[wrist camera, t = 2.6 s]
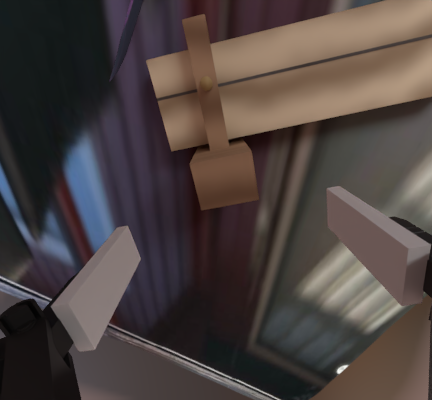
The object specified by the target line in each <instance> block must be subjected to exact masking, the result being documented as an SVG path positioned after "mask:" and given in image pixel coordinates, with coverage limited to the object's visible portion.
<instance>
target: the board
mask: <svg viewBox="0 0 432 400" xmlns="http://www.w3.org/2000/svg"><path fill="white" fill-rule="evenodd" d="M210 45H211V51H212V56H213V61H214V67H215V72H216V77H217V83H218V88H219V94H220V99H221V104H222V110H223V115H224V121H225V126H226V131H227V137H228V139H233V138H238V137H243V136H247V135H252V134H257V133H261V132H266V131H271V130H276V129H280V128H285V127H290V126H295V125H299V124H304V123H309V122H314V121H318V120H323V119H328V118H333V117H337V116H342V115H347V114H351V113H356V112H361V111H366V110H370V109H375V108H380V107H385V106H389V105H394V104H399V103H404V102H408V101H413V100H418V99H422V98H427V97H432V0H385V1H381V2H377V3H373V4H369V5H365V6H361V7H357V8H353V9H349V10H345V11H341V12H337V13H333V14H329V15H325V16H321V17H317V18H313V19H309V20H305V21H301V22H297V23H293V24H289V25H285V26H281V27H277V28H273V29H269V30H265V31H261V32H257V33H253V34H249V35H245V36H241V37H237V38H233V39H229V40H225V41H221V42H217V43H213V44H210ZM146 62H147V66H148V69H149V73H150V76H151V80H152V83H153V87H154V91H155V94H156V98H157V101H158V105H159V108H160V112H161V116H162V119H163V123H164V126H165V130H166V134H167V137H168V141H169V144H170V148H171V151H176V150H181V149H186V148H190V147H195V146H200V145H205V144H209V142H208V138H207V133H206V128H205V124H204V119H203V115H202V110H201V105H200V101H199V96H198V92H197V87H196V83H195V78H194V73H193V69H192V64H191V60H190V55H189V50H185V51H181V52H177V53H173V54H169V55H165V56H161V57H157V58H153V59H149V60H146Z"/></svg>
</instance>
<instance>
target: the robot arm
mask: <svg viewBox="0 0 432 400" xmlns="http://www.w3.org/2000/svg"><path fill="white" fill-rule="evenodd" d="M327 216H328V227H329V228H330V229H331V230H332V232H333V233H334V234H335V235H336V236H337V237H338V238H339V239H340V240H341V241H342V242H343V243H344V244H345V246H346V247H347V248H348V249H349V250H350V251H351V252H352V253H353V254H354V255H355V256H356V257H357V258H358V260H359V261H360V262H361V263H362V264H363V265H364V266H365V267H366V268H367V269H368V270H369V271H370V272H371V273H372V275H373V276H374V277H375V278H376V279H377V280H378V281H379V282H380V283H381V284H382V285H383V286H384V287H385V289H386V290H387V291H388V292H389V293H390V294H391V295H392V296H393V297H394V298H395V299H396V300H397V301H398V303H399V304H400V305H401V306H404V305H411V304H418V303H422V299H423V292H426V293H427V294H428V295H429V296H430V297H431V298H432V235H430V234H428V233H427V232H424V231H423V230H422V229H420V228H418V227H416V226H415V225H413V224H412V223H410V222H408V221H407V220H404V219H400V218H397V217H387V216H385V215H384V214H382V213H381V212H379V211H377V210H376V209H374V208H373V207H371V206H370V205H368V204H367V203H365V202H363V201H362V200H360V199H359V198H357V197H356V196H354V195H353V194H351V193H349V192H348V191H346V190H345V189H343V188H342V187H340V186H336V187H331V188H327ZM140 260H141V258H140V255H139V253H138V250H137V248H136V245H135V243H134V240H133V238H132V235H131V232H130V230H129V227H128V226H123V227H118V228H116V229H115V231H114V232H113V233H112V234H111V235H110V237H109V238H108V239H107V240H106V241H105V243H104V244H103V245H102V246H101V247H100V248H99V250H98V251H97V252H96V253H95V254H94V256H93V257H92V258H91V259H90V260H89V262H88V263H87V264H86V265H85V266H84V267H83V269H82V270H81V271H80V272H78V273H77V274H76V275H75V276H73V277H72V278H71V279H70V280H69V281H68V282H67V283H66V284H65V286H64V288H62V289H61V290H60V291H59V294H57V295H56V296H55V297H54V298H53V299H52V301H51V302H50V303H49V304H48V305H47V306H46V308H45V309H44V310H43V311H42V310H41V309H40V307H39V306H38V304H37V302H36V301H35V300H34V299H27V300H23V301H21V302H19V303H16V304H15V305H13V306H11V307H10V308H8V309H7V310H6V311H5V312H3V313H2V314H1V315H0V329H1V330H2V332H3V333H4V334H5V336H6V337H4V338H1V339H0V400H81V397H80V392H79V387H78V383H77V379H76V374H75V369H74V364H73V360H72V356H71V355H70V353H69V352H68V351H69V349H70V348H71V346H72V344H73V343H74V345H75V346H76V348H77V349H78V351H79V352H82V351H89V350H95V349H96V346H97V345H98V343H99V341H100V339H101V337H102V335H103V333H104V331H105V329H106V327H107V325H108V323H109V321H110V319H111V317H112V315H113V313H114V311H115V309H116V307H117V305H118V303H119V301H120V299H121V298H122V296H123V294H124V292H125V290H126V288H127V286H128V284H129V282H130V280H131V278H132V276H133V274H134V272H135V270H136V268H137V266H138V264H139V262H140ZM429 320H431V332H430V333H431V334H430V363H429V393H428V400H432V305H431V311H430V316H429Z"/></svg>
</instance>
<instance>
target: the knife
mask: <svg viewBox="0 0 432 400" xmlns="http://www.w3.org/2000/svg"><path fill="white" fill-rule="evenodd" d="M142 2H143V0H131V1H130V5H129V8H128V11H127V15H126V20H125V25H124V29H123V32H122V36H121V39H120V44H119V48H118V52H117V56H116V60H115V63H114V67H113V70H112V74H111V77H110V81H111V80H112V79H113V77H114V76H115V75H116V73H117V72H118V70H119V68H120V66H121V64H122V62H123V60H124V57H125V55H126V52H127V49H128V46H129V43H130V40H131V37H132V34H133V31H134V27H135V24H136V21H137V18H138V15H139V12H140V8H141V5H142ZM110 81H109V82H110Z"/></svg>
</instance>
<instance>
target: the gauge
mask: <svg viewBox="0 0 432 400" xmlns="http://www.w3.org/2000/svg"><path fill="white" fill-rule="evenodd" d="M182 23H183V27H184V32H185V37H186V41H187V46H188V50H189V55H190V60H191V64H192V69H193V73H194V78H195V83H196V87H197V92H198V96H199V101H200V105H201V110H202V115H203V119H204V124H205V128H206V133H207V138H208V142H209V145H205V146H200V147H198V148H197V150H196V152H195V154H194V156H193V158H192V160H191V162H190V168H191V172H192V176H193V180H194V184H195V187H196V191H197V195H198V199H199V203H200V207H201V210H207V209H212V208H217V207H223V206H228V205H233V204H239V203H244V202H249V201H255V200H259V196H258V190H257V183H256V176H255V170H254V163H253V157H252V151H251V150H250V148H249V147H248V145H247V144H246V143H245V141H244V140H243V139H242V138H237V139H233V140H228V137H227V131H226V126H225V121H224V115H223V110H222V104H221V99H220V94H219V88H218V83H217V77H216V72H215V67H214V61H213V56H212V51H211V45H210V40H209V34H208V29H207V24H206V18H205V14H202V15H198V16H194V17H191V18H187V19H183V20H182Z"/></svg>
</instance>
